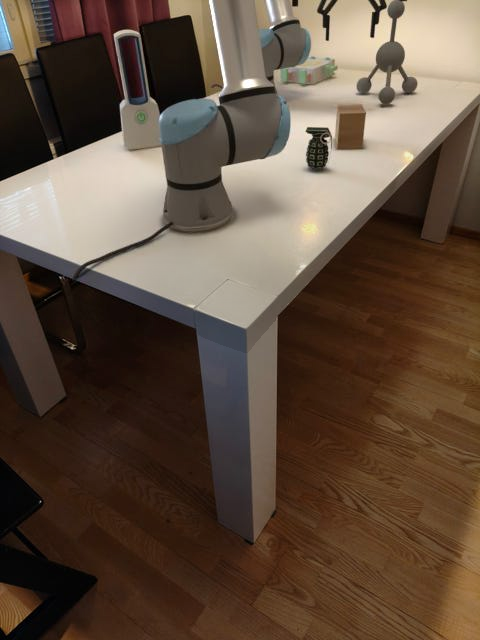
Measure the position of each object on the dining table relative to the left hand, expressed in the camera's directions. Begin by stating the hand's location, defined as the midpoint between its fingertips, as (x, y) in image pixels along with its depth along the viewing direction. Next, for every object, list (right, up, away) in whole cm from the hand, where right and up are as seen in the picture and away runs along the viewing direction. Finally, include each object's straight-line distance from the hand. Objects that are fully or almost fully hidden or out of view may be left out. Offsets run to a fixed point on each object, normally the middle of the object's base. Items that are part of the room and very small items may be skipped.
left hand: (347, 3), depth 63 cm
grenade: (+6, -2, +64) cm, 64 cm away
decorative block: (+15, +62, +145) cm, 158 cm away
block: (+17, +10, +78) cm, 80 cm away
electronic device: (-43, +13, +86) cm, 97 cm away
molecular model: (+41, +41, +116) cm, 130 cm away
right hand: (+20, +45, +86) cm, 99 cm away
